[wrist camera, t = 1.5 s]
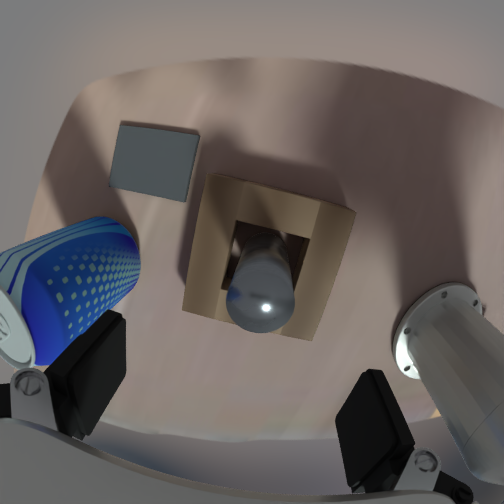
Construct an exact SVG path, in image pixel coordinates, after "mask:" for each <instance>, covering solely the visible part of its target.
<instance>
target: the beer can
mask: <svg viewBox="0 0 504 504" xmlns="http://www.w3.org/2000/svg"><path fill="white" fill-rule="evenodd" d="M140 268H141V261H140V254H139V250H138V247H137V245H136V242H135V240H134V239H133V237H132V235H131V234H130V233H129V231H128V230H127V229H126V228H125V227H124V226H123V225H122V224H120V223H119V222H117V221H116V220H114V219H111V218H108V217H94V218H90V219H87V220H84V221H82V222H79V223H76V224H73V225H70V226H67V227H65V228H62V229H59V230H56V231H54V232H51V233H48V234H46V235H43V236H40V237H38V238H35V239H33V240H30V241H28V242H25V243H23V244H20V245H18V246H15V247H13V248H11V249H8V250H6V251H4V252H2V253H0V356H1V357H2V358H3V359H4V360H5V361H6V362H7V363H8V364H10V365H11V366H12V367H14V368H16V369H18V370H20V369H23V368H32V367H33V366H42V365H51V364H52V363H53V361H54V360H55V359H56V358H57V357H58V356H59V355H60V354H61V353H62V352H63V351H64V350H65V349H66V348H67V347H68V346H69V345H70V344H71V343H72V342H73V341H74V339H75V338H76V337H77V336H79V335H80V334H83V333H84V332H85V331H86V330H87V329H88V328H89V327H90V326H91V325H92V324H93V323H94V322H95V321H96V320H97V319H98V318H99V317H100V316H101V315H102V314H103V313H104V312H105V311H106V310H107V309H109V310H110V309H111V308H113V307H114V306H115V305H116V304H117V303H118V302H119V301H120V300H121V299H122V298H123V297H124V296H125V295H126V294H127V293H129V292H130V291H131V290H132V289H133V287H134V286H135V284H136V283H137V281H138V278H139V275H140Z"/></svg>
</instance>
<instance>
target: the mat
mask: <svg viewBox="0 0 504 504" xmlns="http://www.w3.org/2000/svg"><path fill="white" fill-rule="evenodd" d="M199 139H200V136H198V135H192V134H186V133H180V132H173V131H166V130H159V129H151V128H142V127H133V126H123V125H120V128H119V132H118V137H117V142H116V147H115V152H114V157H113V163H112V169H111V175H110V182H109V187H114V188H119V189H124V190H129V191H133V192H138V193H143V194H148V195H153V196H157V197H162V198H166V199H171V200H176V201H180V202H186V199H187V194H188V189H189V184H190V179H191V175H192V170H193V165H194V161H195V156H196V152H197V148H198V143H199Z"/></svg>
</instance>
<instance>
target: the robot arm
mask: <svg viewBox="0 0 504 504" xmlns="http://www.w3.org/2000/svg"><path fill="white" fill-rule="evenodd" d="M393 357H394V360H395V363H396V364H397V366H398V368H399V370H400V371H401V372H402V373H403V374H405V375H406V376H408V377H410V378H414V379H421V380H422V382H423V384H424V386H425V387H426V389H427V391H428V393H429V394H430V396H431V398H432V400H433V401H434V403H435V405H436V407H437V409H438V410H439V412H440V414H441V416H442V418H443V420H444V422H445V424H446V425H447V427H448V429H449V431H450V433H451V435H452V437H453V439H454V441H455V443H456V445H457V447H458V449H459V451H460V453H461V455H462V457H463V458H464V461H465V463H466V465H467V467H468V468H469V470H470V471H471V473H472V474H473V475H474V476H475V477H477V478H478V479H480V480H482V481H486V482H489V483H495V484H500V485H504V335H503V334H502V333H501V332H500V331H499V330H498V329H497V328H496V327H495V326H494V325H492V324H491V323H490V322H489V321H488V320H487V319H486V318H484V317H483V316H482V305H481V301H480V299H479V297H478V295H477V293H475V292H474V291H473V290H472V289H471V288H470V287H468V286H467V285H465V284H461V283H454V282H451V283H446V284H442V285H440V286H437V287H435V288H433V289H431V290H430V291H428V292H427V293H425V294H424V295H423V296H422V297H420V298H419V299H418V300H417V301H416V302H415V303H414V304H413V305H412V306H411V307H410V309H409V310H408V311H407V313H406V314H405V315H404V317H403V318H402V320H401V322H400V324H399V326H398V328H397V331H396V334H395V336H394V341H393ZM125 374H126V320H125V319H124V318H122V314H121V313H118V312H115V311H112V310H109V309H107V310H106V311H105V312H104V313H103V314H102V315H101V316H100V317H99V318H98V319H97V320H96V321H95V322H94V323H93V324H92V325H91V326H90V327H89V328H88V329H87V330H86V331H85V332H84V333H83V334H80V335H79V336H77V337H76V338H75V339H74V341H73V342H72V343H71V344H70V345H69V346H68V347H67V348H66V349H65V350H64V351H63V352H62V353H61V354H60V355H59V356H58V357H57V358H56V359H55V360H54V361H53V363H52V364H51V365H50V366H49V367H48V368H47V369H46V370H45V371H44V372H41V371H40V370H38V369H35V368H23V369H20V370H18V371H17V372H16V373H14V374H13V376H12V378H11V382H10V383H7V384H0V504H479V503H478V502H477V501H475V502H474V503H473V493H472V490H471V489H470V487H468V486H467V485H466V484H464V483H462V482H460V481H458V480H456V479H455V478H453V477H451V476H449V475H447V474H445V473H444V472H442V471H440V468H441V462H440V458H439V457H438V455H437V454H436V453H435V452H434V451H432V450H431V449H428V448H423V447H420V448H417V449H414V445H415V441H414V439H413V437H412V434H411V432H410V430H409V427H408V425H407V423H406V420H405V418H404V416H403V414H402V411H401V409H400V407H399V405H398V403H397V400H396V398H395V396H394V394H393V392H392V390H391V388H390V386H389V383H388V381H387V379H386V377H385V375H384V373H383V371H382V370H376V369H368V370H366V372H363V373H362V374H361V376H360V377H359V379H358V381H357V383H356V384H355V386H354V388H353V390H352V391H351V393H350V395H349V396H348V398H347V400H346V401H345V403H344V404H343V406H342V408H341V409H340V411H339V412H338V414H337V416H336V419H335V424H336V428H337V433H338V438H339V443H340V448H341V453H342V458H343V463H344V468H345V473H346V478H347V484H348V486H349V487H351V489H352V493H363V492H365V493H363V494H348V495H286V494H285V495H284V494H271V493H261V492H252V491H245V490H237V489H231V488H224V487H219V486H214V485H209V484H204V483H200V482H195V481H191V480H187V479H183V478H179V477H175V476H172V475H168V474H165V473H161V472H158V471H154V470H151V469H148V468H145V467H142V466H140V465H137V464H134V463H131V462H128V461H126V460H123V459H120V458H118V457H115V456H113V455H110V454H108V453H105V452H103V451H100V450H98V449H96V448H93V447H91V446H89V445H87V444H85V443H83V442H80V441H78V440H76V439H74V438H72V436H74V437H76V438H78V439H80V440H83V438H84V437H85V435H88V436H89V435H90V434H91V433H92V431H93V429H94V427H95V426H96V424H97V422H98V421H99V419H100V417H101V415H102V414H103V412H104V410H105V409H106V407H107V405H108V404H109V402H110V400H111V399H112V397H113V395H114V394H115V392H116V390H117V389H118V387H119V385H120V384H121V382H122V381H123V379H124V377H125ZM500 504H504V500H503V501H502V502H501V503H500Z"/></svg>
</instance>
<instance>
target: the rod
mask: <svg viewBox="0 0 504 504" xmlns="http://www.w3.org/2000/svg"><path fill="white" fill-rule="evenodd" d="M226 308H227V311H228V314H229V316H230V317H231V319H232V320H233V321H234V322H235V323H236V324H237V325H238V326H240V327H241V328H243V329H245V330H247V331H250V332H254V333H268V332H272V331H275V330H277V329H279V328H281V327H282V326H284V325H285V324H286V323H287V322H288V321H289V319H290V318H291V316H292V314H293V312H294V308H295V297H294V291H293V284H292V278H291V272H290V266H289V259H288V253H287V248H286V246H285V244H284V242H283V241H282V240H281V239H280V238H279V237H278V236H276V235H274V234H272V233H266V232H264V233H258V234H256V235H254V236H252V237H251V238H250V239H249V240H248V241H247V242H246V244H245V246H244V248H243V251H242V254H241V256H240V259H239V262H238V265H237V267H236V270H235V273H234V275H233V278H232V281H231V284H230V286H229V289H228V292H227V295H226Z"/></svg>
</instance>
